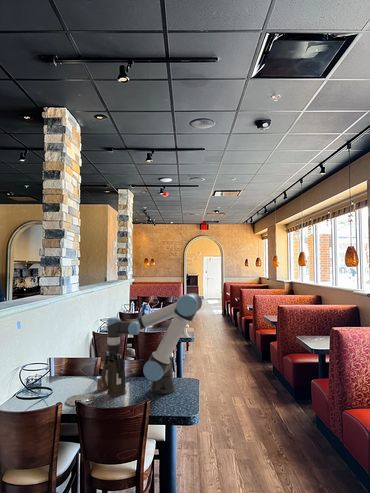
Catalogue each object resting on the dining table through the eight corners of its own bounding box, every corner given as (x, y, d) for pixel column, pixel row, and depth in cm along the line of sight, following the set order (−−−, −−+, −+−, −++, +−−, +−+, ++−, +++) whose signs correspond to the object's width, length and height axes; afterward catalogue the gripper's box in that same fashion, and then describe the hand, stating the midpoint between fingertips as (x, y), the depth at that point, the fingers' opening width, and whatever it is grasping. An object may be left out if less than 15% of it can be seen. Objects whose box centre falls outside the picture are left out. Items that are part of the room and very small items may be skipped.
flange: (101, 400, 215) (101, 398, 215) (76, 408, 203) (76, 406, 203) (85, 394, 226) (85, 392, 226) (60, 401, 213) (60, 399, 214)
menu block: (113, 387, 238) (113, 376, 238) (103, 391, 230) (103, 379, 230) (107, 386, 240) (107, 375, 241) (97, 390, 233) (97, 378, 233)
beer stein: (118, 388, 235) (116, 356, 235) (130, 392, 228) (128, 359, 228) (98, 397, 223) (96, 363, 223) (110, 401, 216) (108, 366, 216)
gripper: (130, 345, 222) (130, 384, 221) (107, 340, 237) (107, 377, 236) (120, 347, 217) (120, 387, 216) (97, 342, 231) (97, 380, 230)
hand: (113, 382), depth 226 cm, fingers closed on beer stein, 9 cm apart
